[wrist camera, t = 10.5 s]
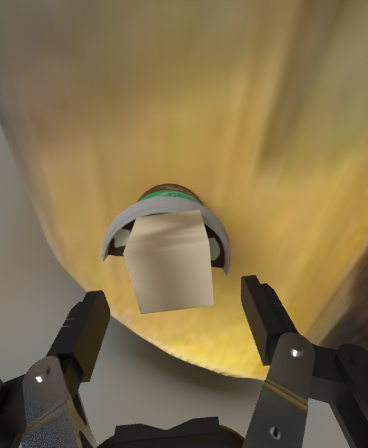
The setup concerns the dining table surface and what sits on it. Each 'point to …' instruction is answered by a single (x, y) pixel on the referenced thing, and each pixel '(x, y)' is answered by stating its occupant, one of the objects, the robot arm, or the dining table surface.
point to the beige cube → (170, 262)
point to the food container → (162, 204)
